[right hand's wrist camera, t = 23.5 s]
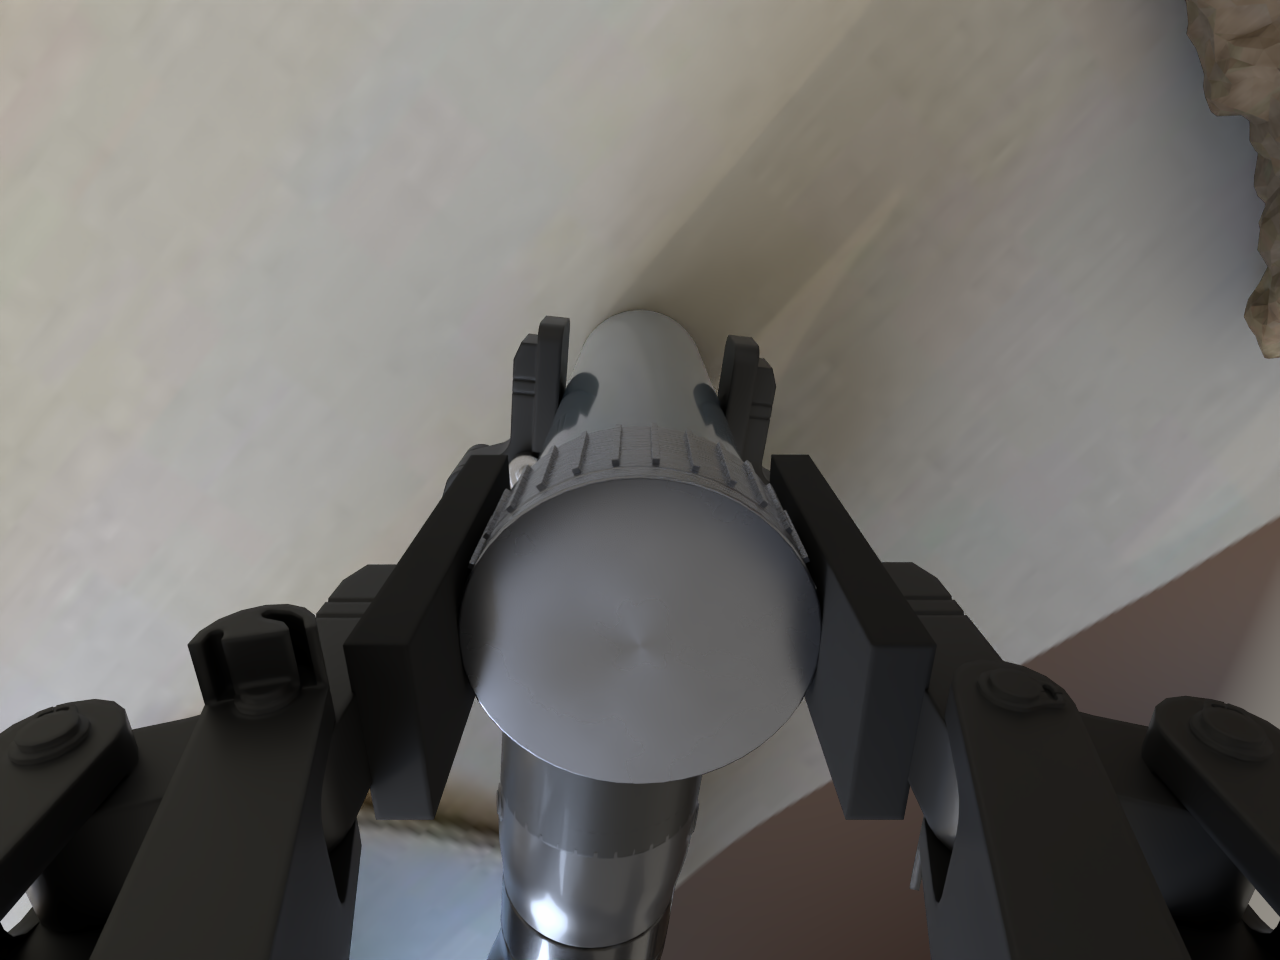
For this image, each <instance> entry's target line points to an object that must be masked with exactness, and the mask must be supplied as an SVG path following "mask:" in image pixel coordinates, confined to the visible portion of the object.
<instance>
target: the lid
mask: <svg viewBox="0 0 1280 960" xmlns="http://www.w3.org/2000/svg"><path fill="white" fill-rule="evenodd" d="M808 562H810V559H809V557H808V554H807V552H806V550H805V548H804V546H803V544H802V542H801V540H800V538H799V536H798V534H797V532H796V530H795V527H794V525H793V523H792V521H791V519H790V517H789V515H788V513H787V511H786V510H783V507H782V505H781V503H780V501H779V499H778V497H777V495H776V493H775V491H774V488H773V487H772V485H771V484H770V483H769V484H768V485H765V483H764V482H763V481H762V480H761V479H760V478H759V476H758V475H757V474H756V473H755V471H754V469H753V466H752V464H751V463H750V462H749V461H748V460H746V461H745V462H743V461H742V460H741V459H739V458H738V457H737V456H735V455H734V454H732V453H730V452H729V451H727V450H726V449H725V446H724V444H723V443H721V442H718V443H717V444H715V443H713V442H711V441H709V440H707V439H705V438H702V437H699V436H696V435H693V433H692V430H688V429H686V430H685V432H684V431H680V430H675V429H669V428H664V427H658V426H657V424H656V423H651V426H626V427H622V424H616V425H615V428H611V429H605V430H600V431H596V432H593V433H590V434H588V432H587V431H585V432H582V433H581V435H580V437H578V438H575V439H573V440H571V441H569V442H567V443H565V444H563V445H561V446H559V447H556V445H554V446H552V447H550V449H549V451H548V454H546V455H545V456H543V457H542V458H541V459H539V460H538V461H537V462H536V463H535V464H534V465H532V466H531V467H530V466H529V465H526V466H525V467H524V468H523V471H522V473H521V475H520V477H519V480H518V481H517V482H516V483H515V484H514V486H513V487H512V489H511V490H508V489H505V491H504V492H503V494H502V496H501V498H500V500H499V503H498V505H497V507H496V509H495V511H494V513H493V515H492V516H491V518H490V520H489V522H488V524H487V526H486V528H485V530H484V532H483V534H482V536H481V538H480V540H479V543H478V545H477V547H476V549H475V551H474V553H473V555H472V557H471V559H470V561H469V564H468V566H467V568H468V569H471V573H470V575H469V577H468V579H467V581H466V584H465V587H464V591H463V594H462V598H461V601H460V607H459V615H458V637H459V646H460V654H461V661H462V665H463V668H464V671H465V674H466V676H467V679H468V682H469V684H470V686H471V688H472V690H473V692H474V694H475V696H476V698H477V700H478V701H479V703H480V704H481V706H482V707H483V708H484V710H485V711H486V713H487V714H488V716H489V717H490V718H491V719H492V720H493V721H494V722H495V723H496V725H497V726H498V727H499V728H500V729H501V730H502V731H503V732H504V733H505V734H506V735H507V736H509V737H510V738H511V739H512V740H513V741H515V742H516V743H517V744H518V745H519V746H521V747H522V748H524V749H525V750H527V751H528V752H530V753H532V754H533V755H535V756H536V757H538V758H540V759H542V760H544V761H546V762H548V763H550V764H552V765H554V766H556V767H558V768H561V769H564V770H566V771H569V772H571V773H574V774H577V775H581V776H585V777H589V778H593V779H596V780H603V781H609V782H616V783H631V784H649V783H664V782H670V781H677V780H683V779H687V778H691V777H695V776H699V775H703V774H706V773H708V772H711V771H714V770H716V769H719V768H722V767H724V766H726V765H728V764H730V763H732V762H734V761H736V760H738V759H740V758H742V757H744V756H745V755H747V754H748V753H750V752H751V751H753V750H754V749H756V748H758V747H759V746H760V745H762V744H763V743H764V742H765V741H766V740H768V739H769V738H770V737H771V736H772V735H774V734H775V733H776V732H777V731H778V730H779V729H780V728H781V727H782V725H783V724H784V723H785V722H786V721H787V720H788V719H789V718H790V717H791V715H792V714H793V712H794V711H795V710H796V708H797V707H798V706H799V704H800V703H801V701H802V699H803V697H804V696H805V694H806V692H807V690H808V688H809V686H810V684H811V682H812V679H813V676H814V673H815V670H816V668H817V665H818V659H819V651H820V642H821V633H822V616H821V607H820V602H819V598H818V595H817V591H816V589H817V588H816V586H815V584H814V581H813V579H812V577H811V575H810V573H809V570H808V568H807V566H806V564H805V563H808Z"/></svg>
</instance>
